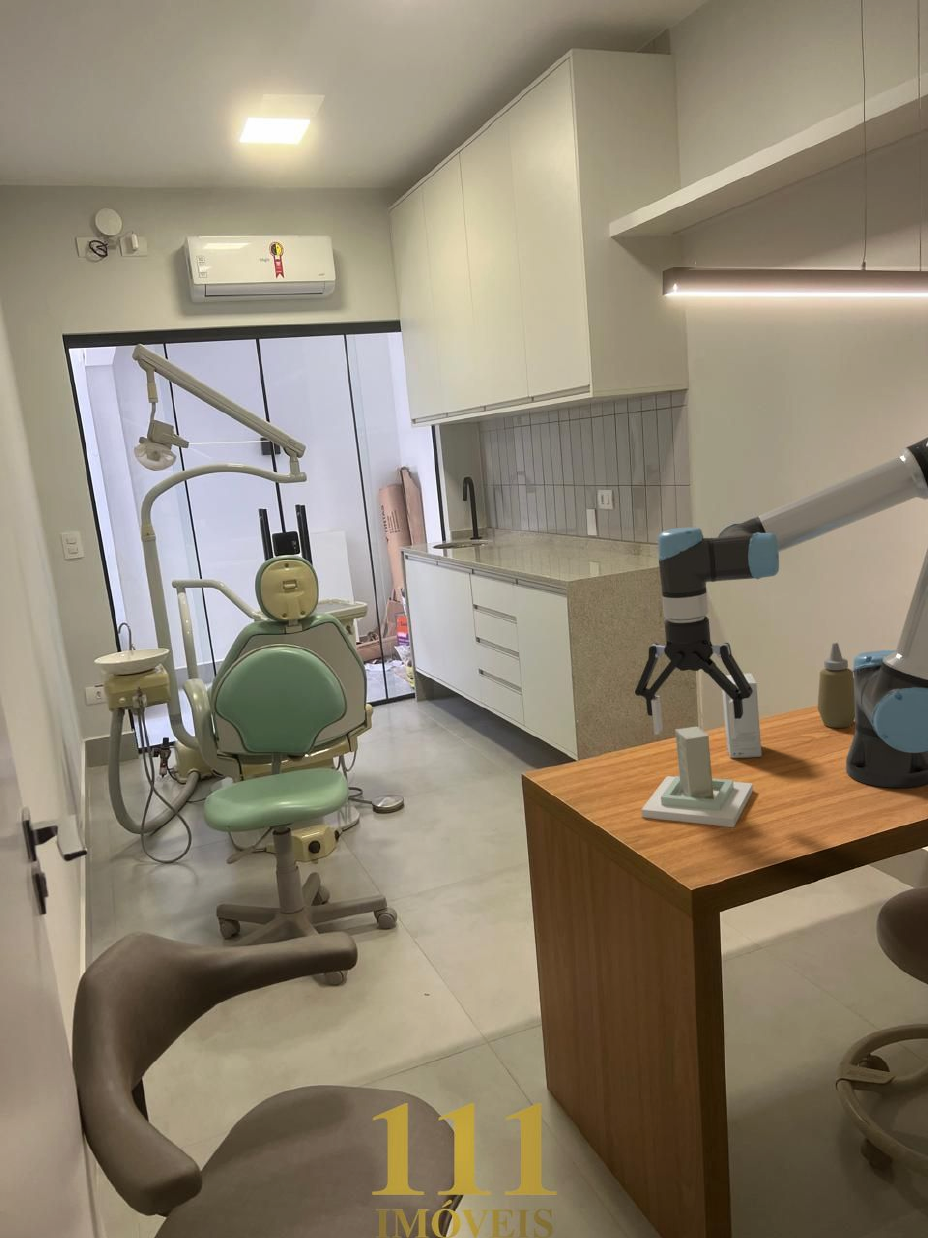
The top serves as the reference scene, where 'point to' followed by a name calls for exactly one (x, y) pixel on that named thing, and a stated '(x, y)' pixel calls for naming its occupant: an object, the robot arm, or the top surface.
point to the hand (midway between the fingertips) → (695, 734)
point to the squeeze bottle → (836, 691)
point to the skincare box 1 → (694, 762)
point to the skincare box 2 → (744, 724)
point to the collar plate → (699, 803)
